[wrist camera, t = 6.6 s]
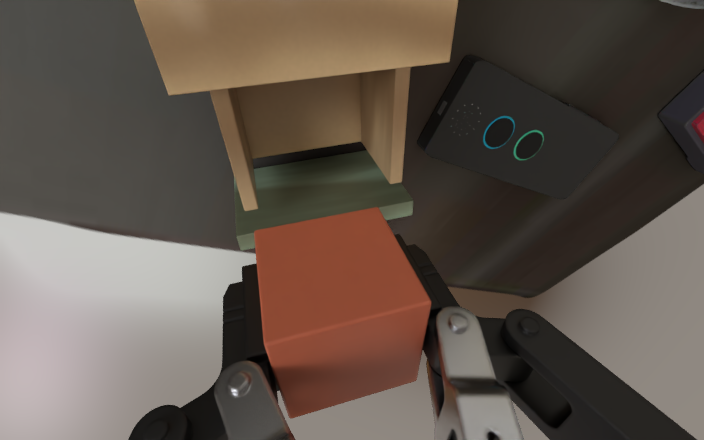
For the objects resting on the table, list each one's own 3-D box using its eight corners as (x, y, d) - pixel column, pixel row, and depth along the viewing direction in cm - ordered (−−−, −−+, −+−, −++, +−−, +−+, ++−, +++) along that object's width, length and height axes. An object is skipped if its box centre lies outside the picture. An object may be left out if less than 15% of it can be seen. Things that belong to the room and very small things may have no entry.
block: (376, 285, 15) (417, 381, 12) (275, 309, 14) (289, 420, 11) (378, 205, 12) (433, 302, 9) (253, 229, 11) (263, 345, 8)
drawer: (375, 203, 31) (407, 260, 26) (250, 228, 29) (255, 296, 23) (379, -27, 20) (436, -14, 15) (179, -14, 18) (160, 6, 13)
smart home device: (480, 54, 24) (624, 134, 33) (467, 49, 26) (609, 127, 35) (422, 156, 28) (564, 203, 37) (413, 147, 30) (553, 194, 39)
